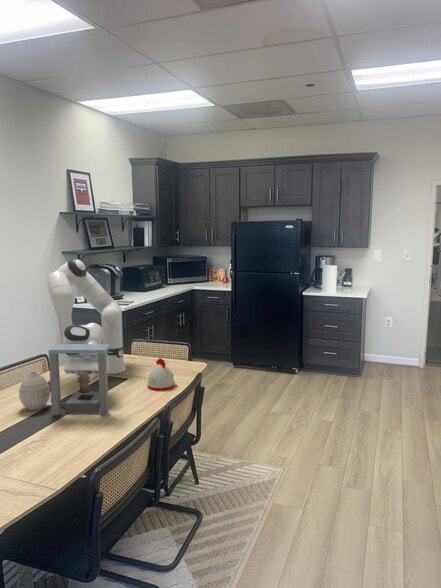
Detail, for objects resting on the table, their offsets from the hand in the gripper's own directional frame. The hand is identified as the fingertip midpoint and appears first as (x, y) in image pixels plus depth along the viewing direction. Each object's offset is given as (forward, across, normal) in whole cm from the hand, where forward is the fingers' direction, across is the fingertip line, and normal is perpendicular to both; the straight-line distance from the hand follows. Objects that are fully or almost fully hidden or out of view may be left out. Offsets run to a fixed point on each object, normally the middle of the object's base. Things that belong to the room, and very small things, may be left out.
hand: (83, 381), depth 196 cm
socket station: (+9, +1, +8) cm, 12 cm away
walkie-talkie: (-5, -28, +23) cm, 36 cm away
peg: (+3, 0, +4) cm, 5 cm away
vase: (+10, -22, +8) cm, 25 cm away
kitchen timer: (-11, +31, +28) cm, 43 cm away
